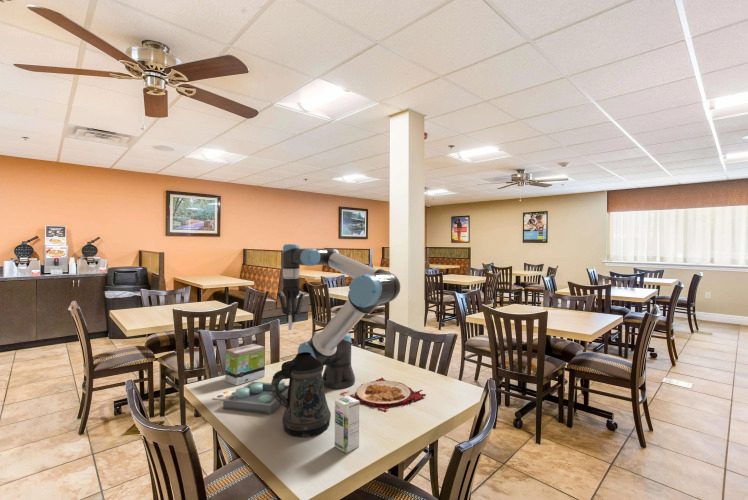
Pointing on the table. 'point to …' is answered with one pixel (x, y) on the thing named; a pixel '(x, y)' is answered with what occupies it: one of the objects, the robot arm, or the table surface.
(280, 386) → the button
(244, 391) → the button
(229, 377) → the tea box
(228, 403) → the button board
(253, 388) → the button
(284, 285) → the robot arm
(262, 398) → the button
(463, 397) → the table surface
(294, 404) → the beer stein
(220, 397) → the card
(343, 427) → the syrup box
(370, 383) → the plate with food
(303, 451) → the table surface
